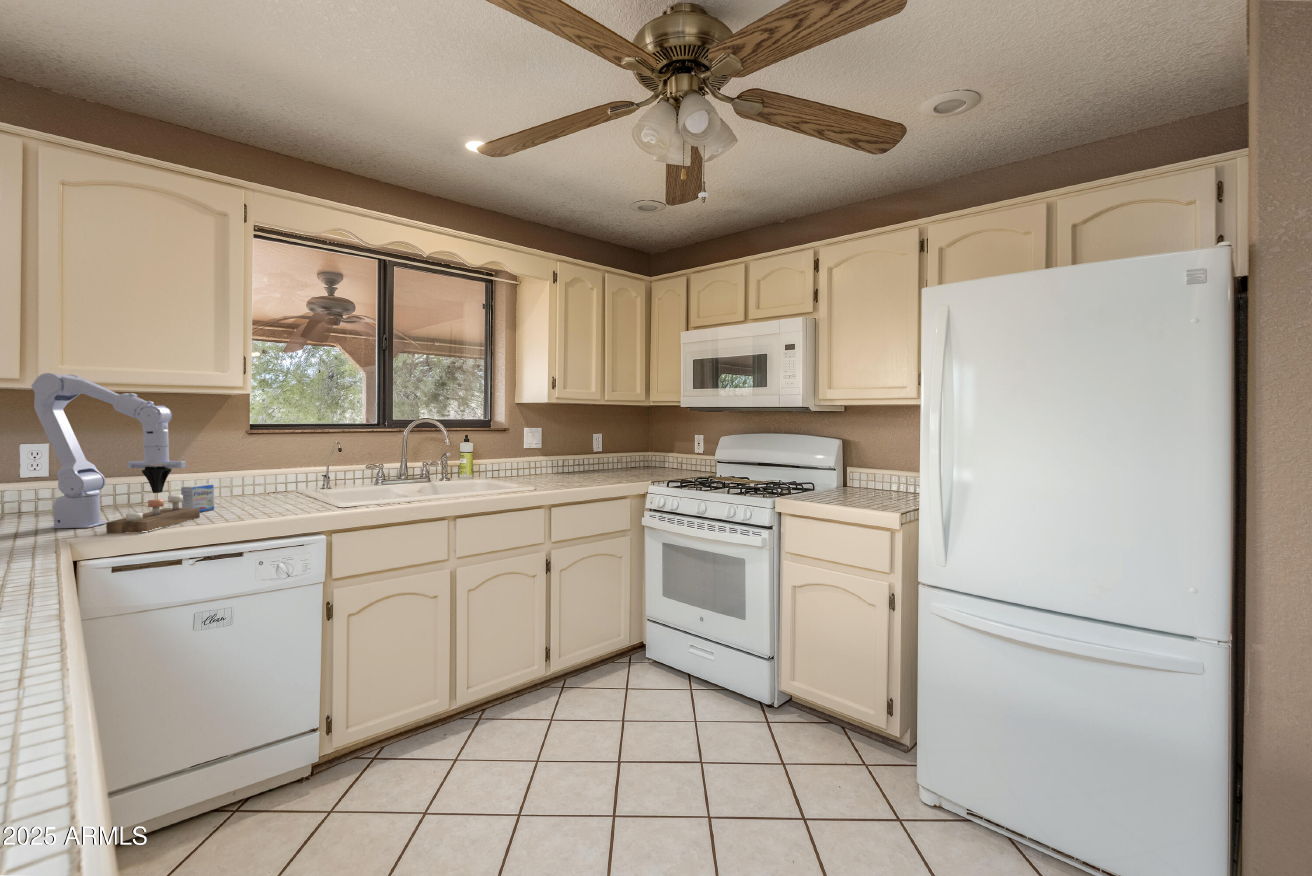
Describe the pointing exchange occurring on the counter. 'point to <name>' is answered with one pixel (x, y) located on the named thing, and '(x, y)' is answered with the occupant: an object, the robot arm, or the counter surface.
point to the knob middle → (156, 505)
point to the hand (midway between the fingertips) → (157, 492)
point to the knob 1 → (134, 516)
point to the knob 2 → (175, 501)
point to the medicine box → (198, 497)
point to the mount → (153, 520)
